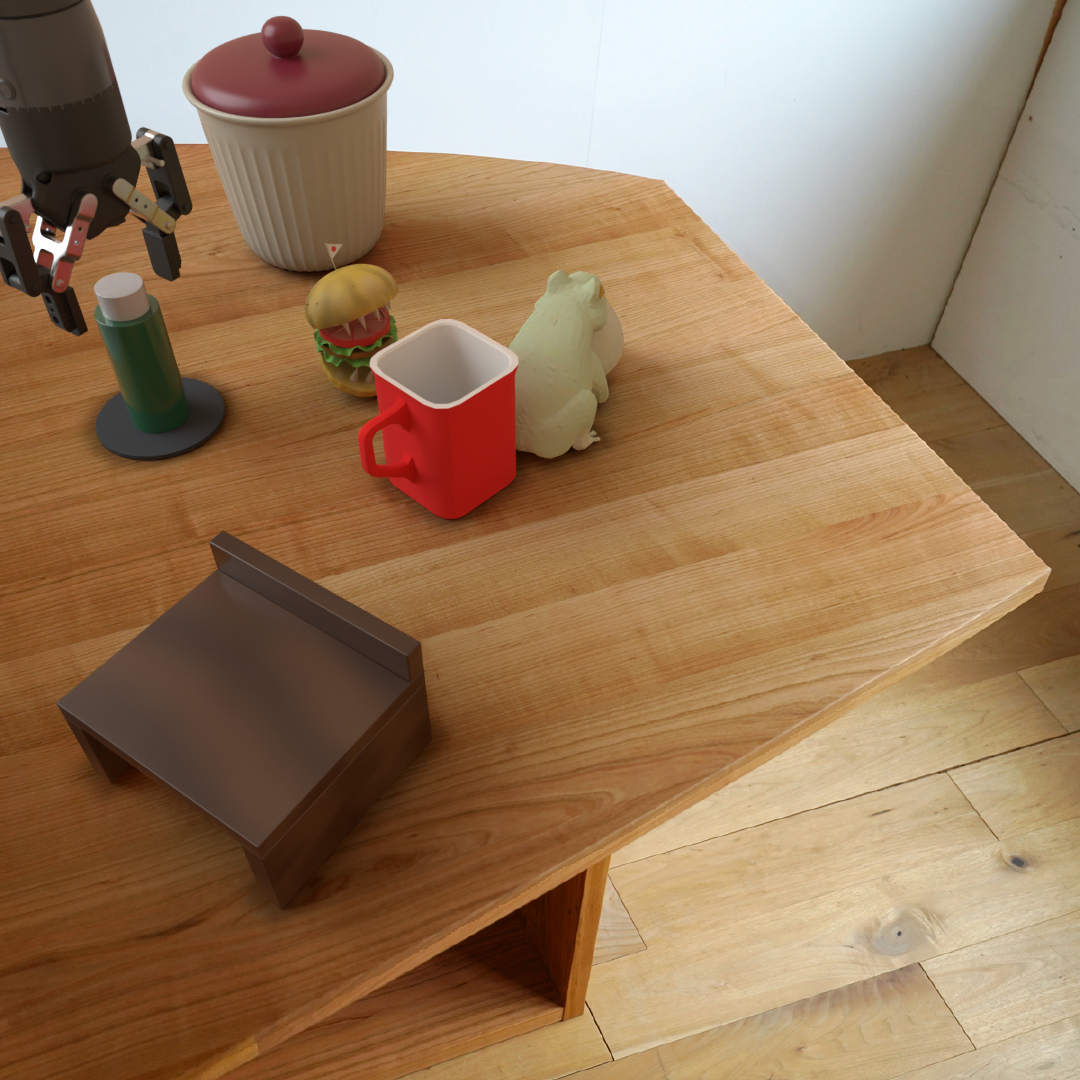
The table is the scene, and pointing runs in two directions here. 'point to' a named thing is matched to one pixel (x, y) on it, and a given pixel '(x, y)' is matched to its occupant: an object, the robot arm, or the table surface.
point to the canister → (298, 140)
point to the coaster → (152, 446)
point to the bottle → (140, 353)
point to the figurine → (564, 364)
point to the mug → (444, 417)
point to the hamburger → (352, 322)
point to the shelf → (261, 711)
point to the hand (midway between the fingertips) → (122, 303)
